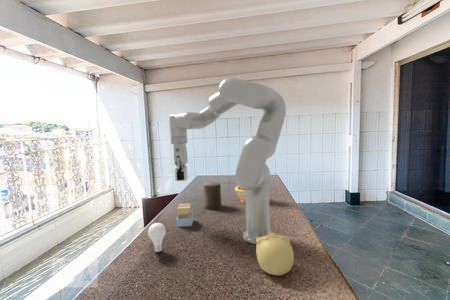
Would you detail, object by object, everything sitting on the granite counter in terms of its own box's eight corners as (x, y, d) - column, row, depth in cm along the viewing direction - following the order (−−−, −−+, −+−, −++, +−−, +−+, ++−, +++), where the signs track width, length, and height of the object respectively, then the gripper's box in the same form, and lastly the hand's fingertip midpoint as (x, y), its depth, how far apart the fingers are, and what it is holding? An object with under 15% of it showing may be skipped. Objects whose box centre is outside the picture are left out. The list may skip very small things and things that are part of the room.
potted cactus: (259, 196, 149) (258, 158, 147) (261, 204, 134) (259, 161, 131) (235, 197, 151) (234, 159, 148) (234, 204, 135) (232, 162, 133)
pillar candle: (219, 209, 128) (218, 183, 127) (202, 209, 130) (201, 183, 129) (223, 204, 138) (222, 179, 136) (207, 204, 140) (206, 179, 138)
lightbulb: (160, 245, 92) (158, 218, 90) (170, 250, 87) (168, 222, 86) (146, 252, 87) (143, 224, 86) (156, 258, 83) (153, 228, 82)
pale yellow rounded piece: (287, 256, 80) (286, 226, 79) (299, 279, 68) (299, 244, 67) (254, 258, 79) (253, 228, 78) (260, 281, 67) (259, 246, 66)
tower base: (191, 226, 109) (191, 218, 108) (176, 227, 109) (176, 219, 108) (193, 220, 116) (193, 212, 115) (179, 221, 116) (179, 213, 115)
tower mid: (190, 217, 109) (190, 207, 108) (177, 218, 109) (177, 208, 108) (191, 213, 115) (191, 203, 114) (179, 214, 115) (178, 204, 114)
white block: (186, 180, 108) (185, 167, 107) (175, 181, 107) (174, 168, 107) (187, 178, 112) (186, 166, 112) (177, 178, 112) (176, 166, 112)
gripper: (184, 141, 100) (186, 182, 101) (189, 139, 117) (191, 174, 118) (166, 142, 100) (169, 183, 101) (174, 140, 117) (177, 175, 118)
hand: (181, 178), depth 110 cm, fingers closed on white block, 5 cm apart
